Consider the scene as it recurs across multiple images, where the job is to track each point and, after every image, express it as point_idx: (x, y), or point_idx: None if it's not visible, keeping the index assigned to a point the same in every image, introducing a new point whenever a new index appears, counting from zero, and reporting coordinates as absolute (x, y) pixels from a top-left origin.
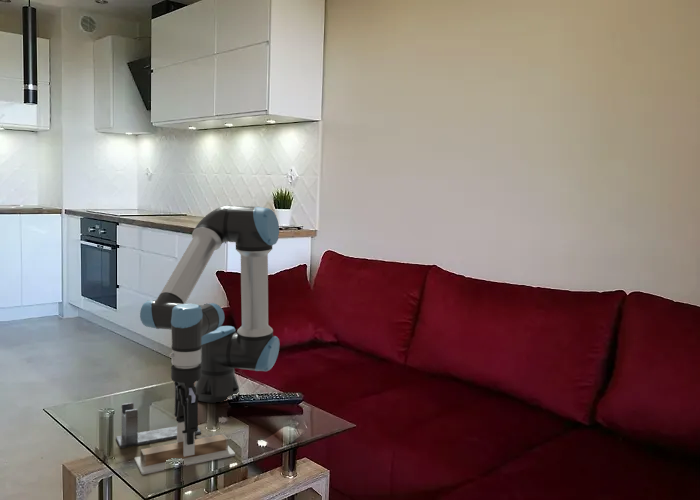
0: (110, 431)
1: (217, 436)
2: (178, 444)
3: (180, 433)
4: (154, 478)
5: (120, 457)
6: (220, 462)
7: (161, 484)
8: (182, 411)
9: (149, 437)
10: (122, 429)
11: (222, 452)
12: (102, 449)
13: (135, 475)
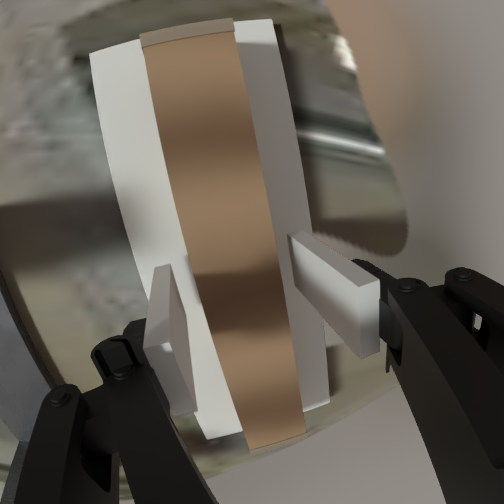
0: (7, 469)
1: (167, 74)
2: (236, 327)
3: (184, 344)
4: (365, 359)
5: None
6: (323, 101)
7: None
8: (198, 471)
9: (37, 404)
10: None
11: (245, 72)
12: (122, 491)
13: (323, 411)
